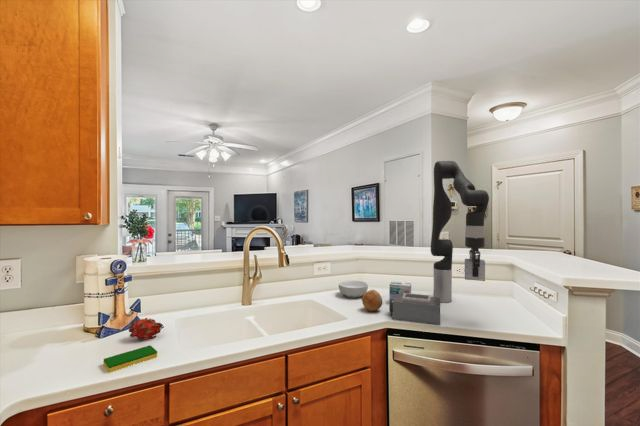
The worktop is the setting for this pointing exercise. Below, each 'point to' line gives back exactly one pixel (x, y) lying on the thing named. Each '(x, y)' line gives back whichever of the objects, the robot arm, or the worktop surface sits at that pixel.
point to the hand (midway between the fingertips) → (474, 275)
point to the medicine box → (469, 270)
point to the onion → (372, 300)
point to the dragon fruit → (145, 328)
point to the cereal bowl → (353, 288)
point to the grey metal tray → (416, 308)
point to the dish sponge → (129, 358)
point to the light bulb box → (398, 289)
